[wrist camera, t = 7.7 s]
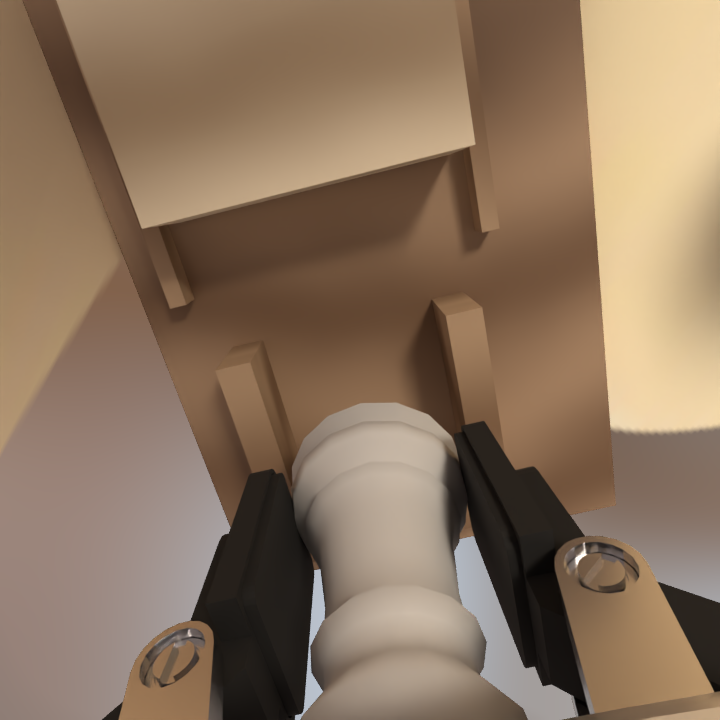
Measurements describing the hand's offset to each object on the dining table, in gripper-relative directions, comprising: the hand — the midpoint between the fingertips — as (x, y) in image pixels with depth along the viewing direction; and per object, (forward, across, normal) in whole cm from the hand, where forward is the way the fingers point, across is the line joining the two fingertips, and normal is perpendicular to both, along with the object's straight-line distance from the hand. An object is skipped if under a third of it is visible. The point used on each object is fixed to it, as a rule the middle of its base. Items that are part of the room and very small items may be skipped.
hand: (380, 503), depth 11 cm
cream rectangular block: (+5, 0, -10) cm, 11 cm away
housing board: (+6, -1, -4) cm, 8 cm away
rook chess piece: (+2, 0, 0) cm, 2 cm away
